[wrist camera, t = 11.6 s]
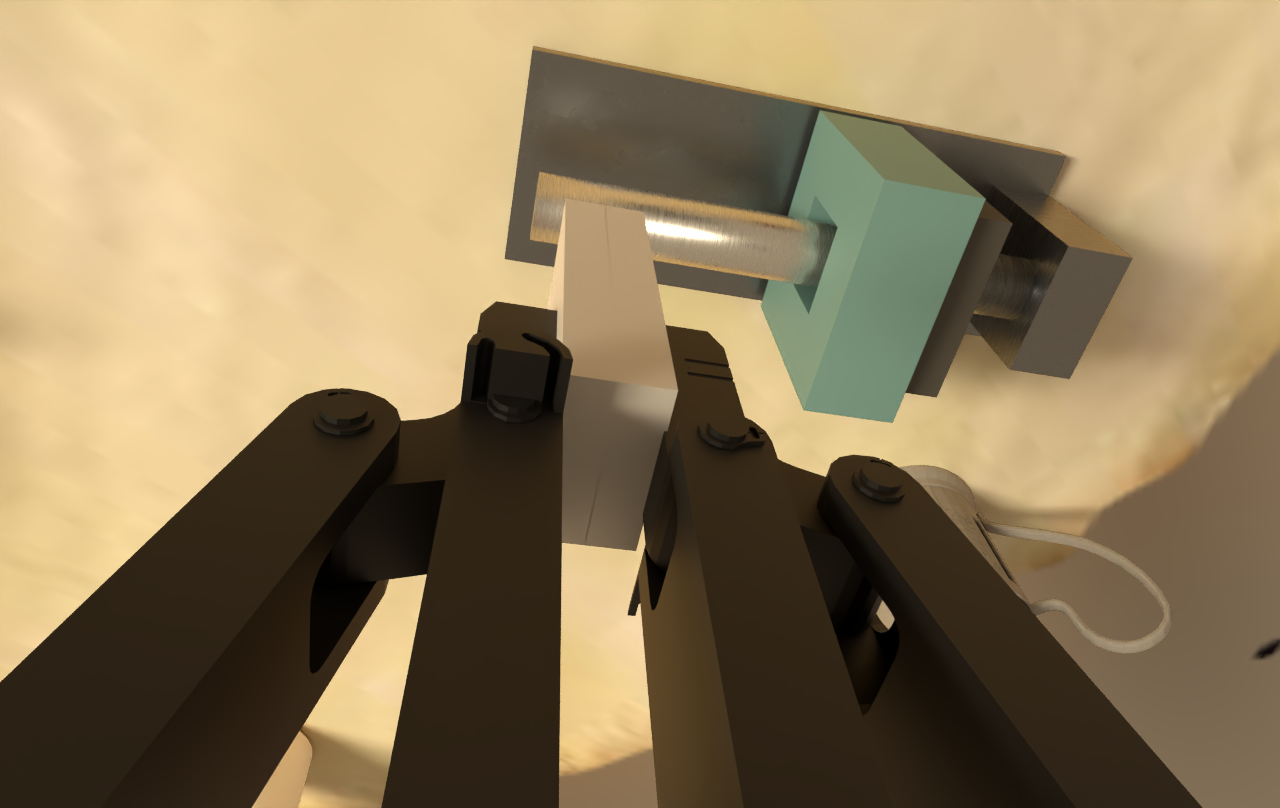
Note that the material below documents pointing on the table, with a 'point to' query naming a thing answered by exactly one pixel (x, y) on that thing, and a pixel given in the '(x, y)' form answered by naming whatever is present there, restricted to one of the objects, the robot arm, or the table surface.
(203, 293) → the table surface
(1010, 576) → the glass holder
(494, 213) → the table surface
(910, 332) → the green block with hole
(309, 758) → the can
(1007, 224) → the dark gray square plate
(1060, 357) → the grey piece
